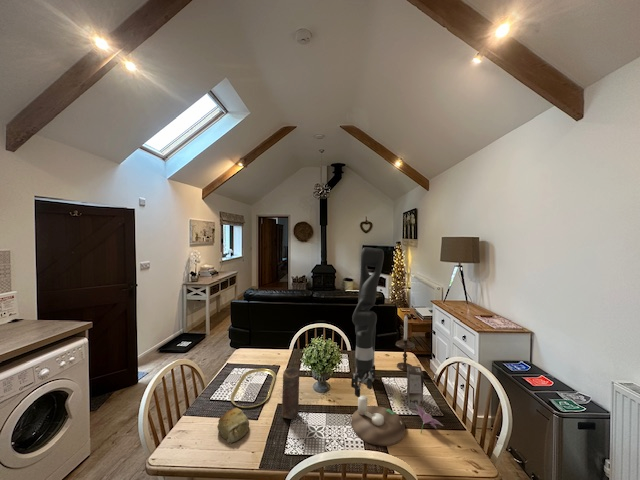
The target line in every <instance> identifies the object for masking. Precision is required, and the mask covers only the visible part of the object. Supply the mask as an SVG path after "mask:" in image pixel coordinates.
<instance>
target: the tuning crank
mask: <svg viewBox="0 0 640 480" xmlns="http://www.w3.org/2000/svg"><path fill="white" fill-rule="evenodd" d="M367 406H368V397H367V396H366V395H361V394H360V397H357V410H358V413H359V414H360V415H366V416H367V417H369V418H371V419H372V423H373V424H374V425H377V426H381V425H383V424H384V417H383V415H381V414H379V413H374V414H371V413H369V412H368V411H367Z"/></svg>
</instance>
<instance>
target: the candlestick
mask: <svg viewBox="0 0 640 480" xmlns="http://www.w3.org/2000/svg"><path fill="white" fill-rule="evenodd" d="M407 312H408V310H407V309H406V311H405V315H404V318H403V319H404V320H403V321H404V322H403V338H401V340H397V341H396V342H395V346H396V347H398V348H399V349H402V350H403V354H402V357H403V358H402V360H403V362H398V363H397V364H396V368H397V369H398V370H399V371H402V372H407V370H408V366H413V365H412V364H411V363H408V362H407V361H408V354H407V350H413V349H415V348H416V345H415V343H414V342H412V341H410V340H409V339H408V323H409V321H408V316H407Z"/></svg>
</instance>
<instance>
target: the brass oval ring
mask: <svg viewBox="0 0 640 480" xmlns="http://www.w3.org/2000/svg"><path fill="white" fill-rule="evenodd" d="M255 373H267V374H269V375H271V376H272V380H271V382H270V387H269V389H268V392H267V395H266V398H265V399H264V400H263V402H262V401H261V402H260V403H259V404H255V405H251V406H249V405H248V406H242V405H238V404H237V403H236V402H235V396H236V395H237V393H238V391H239V389H240V388H239V387H241V385H242V384H241V383H243V382H244V380H245V378H246V377H247V376H249V375H251V374H255ZM276 377H277V376H276V373H275V372H274V371H273V370H271V369H268V368H254V369H251V370H247V371H246V372H245V373H243V374H242V375H241V377H240V378H239V381H238V382H237V384H236V386H235V388H234V389H233V391H232V393H231V395H230V401H231V403H232V404H233V405H234V406H235V407H236V408H242V409H252V408H257V407H259V406H261V405H263V404H264V403H265V402H266V401H268V399H269V397H270V396H271V393H272V389H273V387H274V383H275V380H276ZM236 404H237V405H236Z"/></svg>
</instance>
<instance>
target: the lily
mask: <svg viewBox="0 0 640 480" xmlns="http://www.w3.org/2000/svg"><path fill="white" fill-rule="evenodd" d="M415 405H416V404H415ZM416 407H417V410H416V409H414V410H412V412H414V413H415V414H417V415H418V416H420V419H421V420H422V426H421V430H420V434H422V432H423V428H424V426H425V425H424V424H430V425H431V426H432V427H433V428H434V429H435V430H438V428H437V426H436V425H440V426H442V427H444V425H443V424H442V423H441V422H440V421H439V420H437V419H435V418H433V416H432V415H431V414H430V413H426V412H425V410H424V409H421V408H420V407H419V406H417V405H416Z"/></svg>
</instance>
